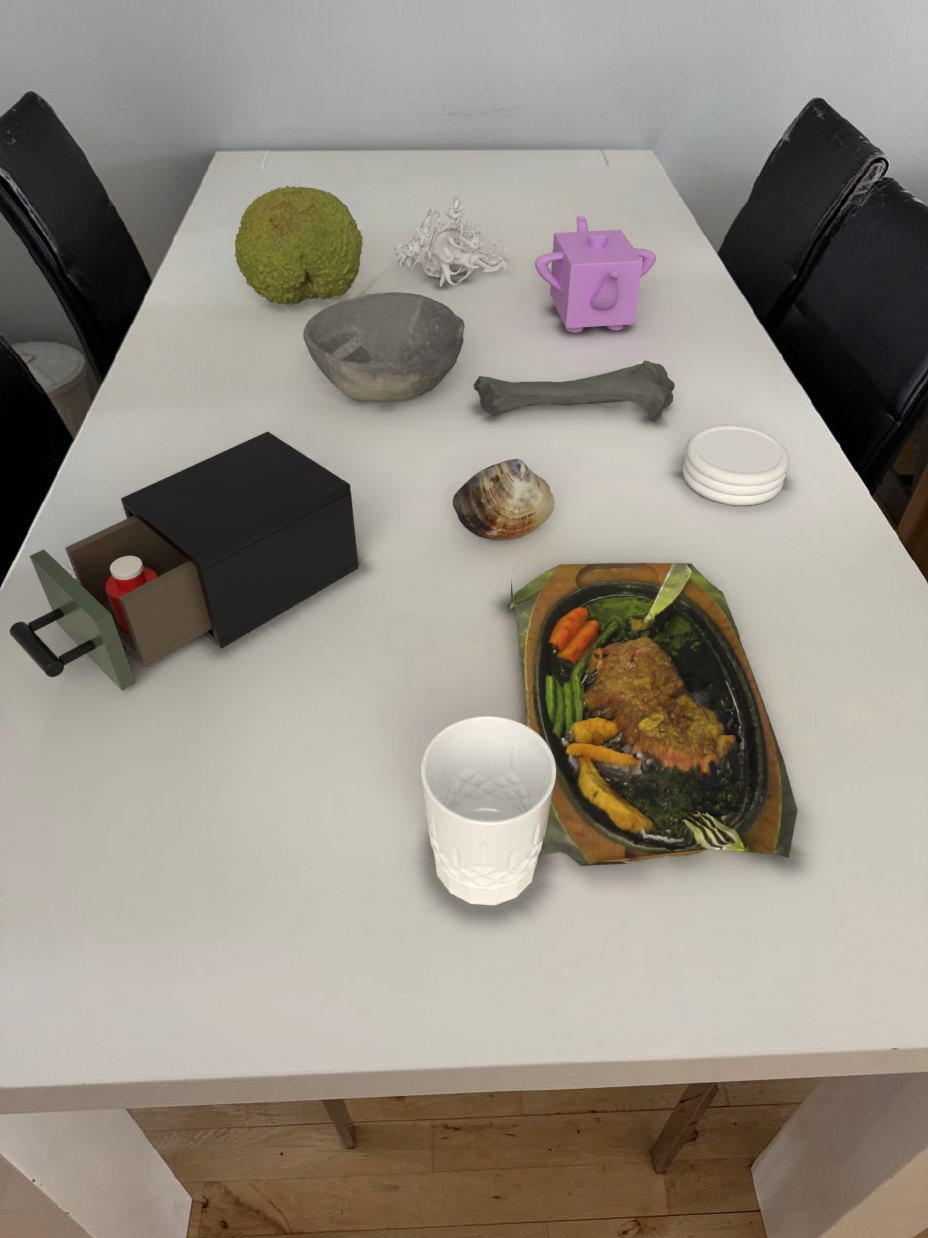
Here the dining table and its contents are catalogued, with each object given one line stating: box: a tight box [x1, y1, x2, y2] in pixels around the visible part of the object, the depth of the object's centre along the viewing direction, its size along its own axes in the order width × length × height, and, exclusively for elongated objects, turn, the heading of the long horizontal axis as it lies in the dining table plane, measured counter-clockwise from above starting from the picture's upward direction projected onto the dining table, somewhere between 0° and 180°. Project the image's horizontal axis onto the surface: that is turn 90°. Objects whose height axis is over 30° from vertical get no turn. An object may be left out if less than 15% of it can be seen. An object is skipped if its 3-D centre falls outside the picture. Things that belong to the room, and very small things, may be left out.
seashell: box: [452, 458, 556, 541], centre depth 82 cm, size 10×6×8 cm, turn 102°
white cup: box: [420, 715, 556, 906], centre depth 57 cm, size 8×8×10 cm
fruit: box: [234, 185, 364, 306], centre depth 119 cm, size 16×14×15 cm
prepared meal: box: [507, 562, 798, 867], centre depth 69 cm, size 28×4×18 cm
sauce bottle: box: [105, 556, 158, 633], centre depth 72 cm, size 4×4×6 cm
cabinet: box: [120, 431, 359, 649], centre depth 78 cm, size 15×12×9 cm
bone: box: [473, 359, 676, 422], centre depth 99 cm, size 22×6×6 cm, turn 91°
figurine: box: [393, 195, 514, 287], centre depth 125 cm, size 13×15×12 cm
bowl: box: [302, 291, 466, 403], centre depth 103 cm, size 18×18×8 cm
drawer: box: [9, 515, 212, 692], centre depth 72 cm, size 18×10×7 cm, turn 135°
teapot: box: [534, 215, 657, 334], centre depth 115 cm, size 15×13×11 cm
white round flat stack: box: [681, 424, 790, 506], centre depth 91 cm, size 10×10×4 cm
